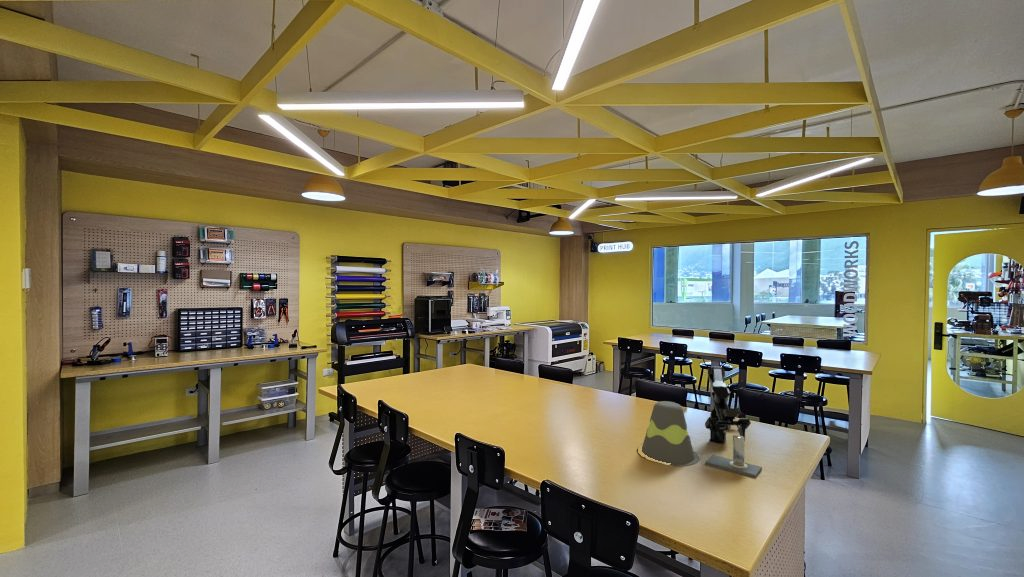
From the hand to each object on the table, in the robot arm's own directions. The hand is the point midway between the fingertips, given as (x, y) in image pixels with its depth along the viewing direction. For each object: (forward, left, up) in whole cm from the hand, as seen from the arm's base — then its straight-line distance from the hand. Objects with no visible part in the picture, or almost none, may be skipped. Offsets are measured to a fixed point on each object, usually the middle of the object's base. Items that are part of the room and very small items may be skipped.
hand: (733, 441), depth 189 cm
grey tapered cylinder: (-26, -10, -10) cm, 30 cm away
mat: (+1, -5, -10) cm, 11 cm away
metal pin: (+3, -4, -9) cm, 10 cm away
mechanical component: (-16, +53, -10) cm, 57 cm away
